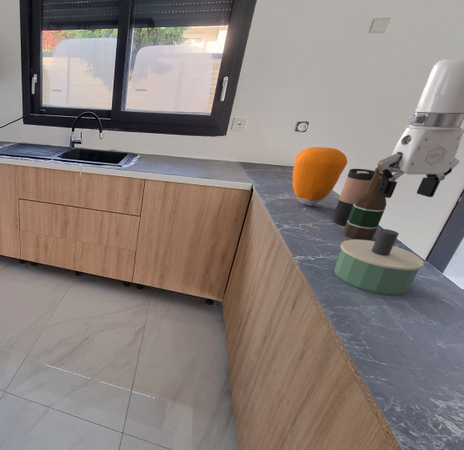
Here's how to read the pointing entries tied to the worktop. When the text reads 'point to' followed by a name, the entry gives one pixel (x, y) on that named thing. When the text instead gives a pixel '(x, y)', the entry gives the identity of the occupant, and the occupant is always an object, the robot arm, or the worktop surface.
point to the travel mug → (351, 193)
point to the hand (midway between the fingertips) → (403, 195)
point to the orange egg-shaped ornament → (316, 173)
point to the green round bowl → (373, 276)
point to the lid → (383, 252)
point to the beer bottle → (366, 212)
